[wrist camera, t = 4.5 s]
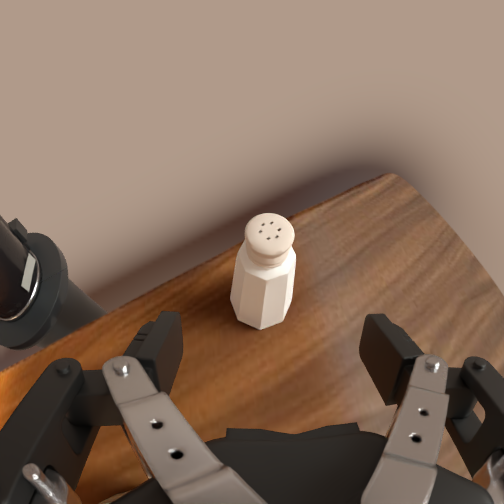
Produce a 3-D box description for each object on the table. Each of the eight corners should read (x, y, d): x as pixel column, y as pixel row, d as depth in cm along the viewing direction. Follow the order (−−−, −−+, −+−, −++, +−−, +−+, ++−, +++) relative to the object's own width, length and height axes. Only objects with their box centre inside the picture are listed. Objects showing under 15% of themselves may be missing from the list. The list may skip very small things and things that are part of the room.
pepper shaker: (217, 298, 26) (201, 227, 16) (261, 262, 28) (270, 180, 18) (259, 342, 24) (269, 295, 14) (303, 301, 26) (336, 233, 16)
